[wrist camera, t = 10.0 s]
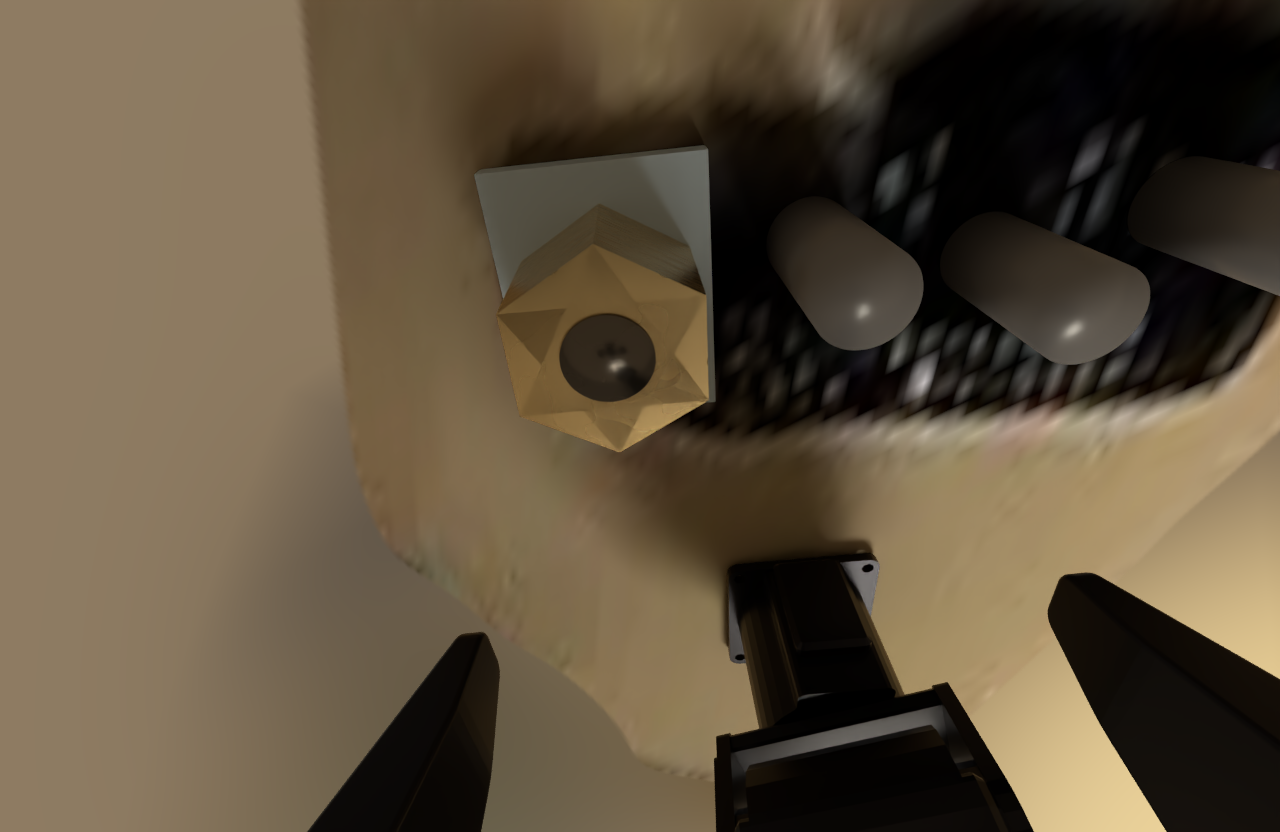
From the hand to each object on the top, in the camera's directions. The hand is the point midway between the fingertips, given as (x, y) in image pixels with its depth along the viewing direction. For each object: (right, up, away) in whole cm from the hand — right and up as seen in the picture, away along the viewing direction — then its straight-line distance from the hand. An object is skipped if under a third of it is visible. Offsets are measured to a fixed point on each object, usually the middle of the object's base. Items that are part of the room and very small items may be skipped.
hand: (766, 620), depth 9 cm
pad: (-3, +7, +9) cm, 12 cm away
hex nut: (-3, +7, +9) cm, 11 cm away
